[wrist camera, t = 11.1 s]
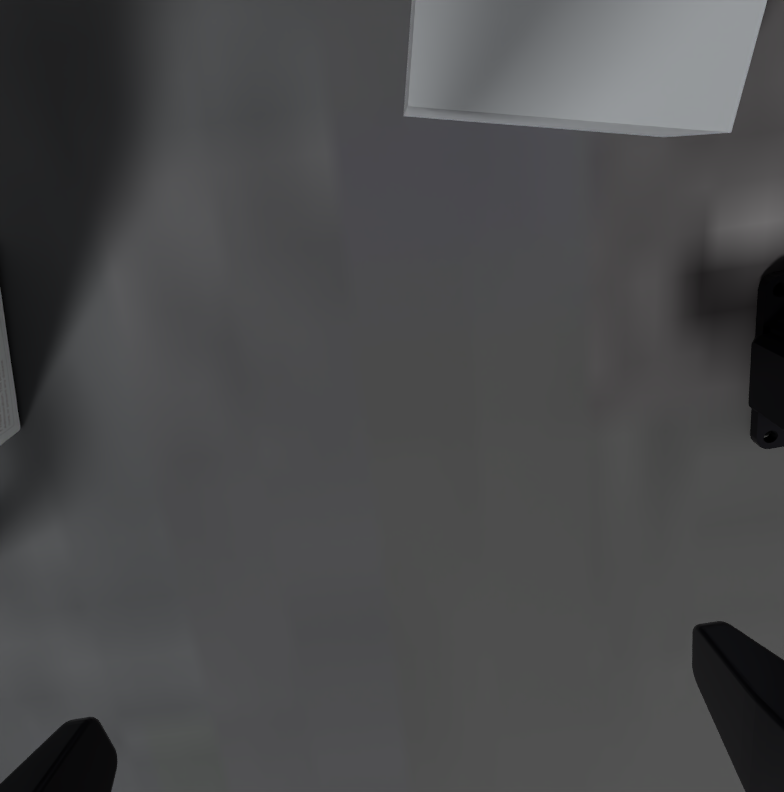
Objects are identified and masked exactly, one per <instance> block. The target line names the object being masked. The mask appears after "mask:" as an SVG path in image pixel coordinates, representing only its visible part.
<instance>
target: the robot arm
mask: <svg viewBox="0 0 784 792" xmlns="http://www.w3.org/2000/svg"><path fill="white" fill-rule="evenodd" d="M780 282H781V288H780V290H779V291H778V292H777V293H775V294H773V289H774V287H775V286H776V285H777V284H778V283H780ZM749 406H750V407H751V408H752V411H751V429H750V436H751V439H752V440H753V442H755V443H756V444H757V445H758V446H760V447H762V448H764V449H771V448H777V447H783V446H784V271H779V272H774V273H771V274H768V275H767V276H766V277H765V278H763V280H762V281H761V283H760V284H759V288H758V299H757V317H756V336H755V339H754V341H753V342H752V348H751V368H750V387H749ZM769 431H771V433H770V434H769V435H768V436H767V437H765V438H764V435H765V434H766V433H767V432H769ZM692 668H693V673H694V677H695V680H696V683H697V685H698V687H699V690H700V692H701V694H702V696H703V698H704V701H705V703H706V705H707V707H708V710H709V712H710V714H711V716H712V719H713V721H714V723H715V725H716V727H717V730H718V732H719V734H720V736H721V739H722V741H723V743H724V745H725V747H726V750H727V752H728V754H729V756H730V759H731V761H732V763H733V765H734V768H735V770H736V772H737V774H738V776H739V779H740V781H741V783H742V785H743V787H744V789H745V791H746V792H784V660H783V659H781V658H780V657H778V656H777V655H775V654H774V653H772V652H771V651H769V650H768V649H766V648H765V647H763V646H762V645H760V644H759V643H757V642H756V641H754V640H753V639H751V638H750V637H748V636H747V635H745V634H744V633H742V632H741V631H739V630H738V629H736V628H735V627H733V626H731V625H730V624H728V623H726V622H722V621H717V622H710V623H704V624H698V625H696V626H695V627H694V629H693V642H692ZM116 769H117V754H116V750H115V748H114V746H113V744H112V743H111V741H110V739H109V737H108V736H107V734H106V732H105V730H104V729H103V727H102V725H101V723H100V722H99V720H98V719H96V718H94V717H87V718H80V719H74V720H70V721H68V722H66V723H64V724H63V725H62V726H61V727H60V728H58V729H57V730H56V731H55V732H54V733H53V734H52V735H51V736H50V737H49V738H48V739H47V740H46V741H45V742H44V743H43V744H42V745H41V746H40V747H39V748H37V749H36V750H35V751H34V752H33V753H32V754H31V755H30V756H29V757H28V758H27V759H26V760H25V761H24V762H23V763H22V764H21V765H20V766H19V767H17V768H16V769H15V770H14V771H13V772H12V773H11V774H10V775H9V776H8V777H7V778H6V779H5V780H4V781H3V782H2V783H1V784H0V792H111V790H112V786H113V782H114V778H115V773H116Z"/></svg>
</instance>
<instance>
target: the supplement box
mask: <svg viewBox="0 0 784 792" xmlns="http://www.w3.org/2000/svg"><path fill="white" fill-rule="evenodd" d="M19 430H20V420H19V415H18V408H17V400H16V393H15V386H14V380H13V373H12V366H11V359H10V352H9V345H8V338H7V331H6V324H5V317H4V310H3V303H2V296H1V289H0V445H2V444H3V443H4V442H5V441H7V440H8V439H9V438H11V437H12V436H13V435H14V434H16V433H17V432H18V431H19Z"/></svg>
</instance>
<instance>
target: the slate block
mask: <svg viewBox="0 0 784 792" xmlns="http://www.w3.org/2000/svg"><path fill="white" fill-rule="evenodd" d="M766 3H767V0H412V6H411V20H410V34H409V48H408V62H407V75H406V89H405V103H404V116H409V117H422V118H434V119H446V120H459V121H471V122H483V123H496V124H508V125H520V126H533V127H545V128H557V129H570V130H582V131H595V132H607V133H619V134H632V135H644V136H656V137H673V136H688V135H703V134H718V133H731V131H732V127H733V124H734V120H735V116H736V113H737V109H738V105H739V102H740V98H741V95H742V91H743V87H744V84H745V80H746V76H747V73H748V69H749V65H750V62H751V58H752V54H753V51H754V47H755V43H756V40H757V36H758V32H759V29H760V25H761V22H762V18H763V14H764V11H765V7H766Z"/></svg>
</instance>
